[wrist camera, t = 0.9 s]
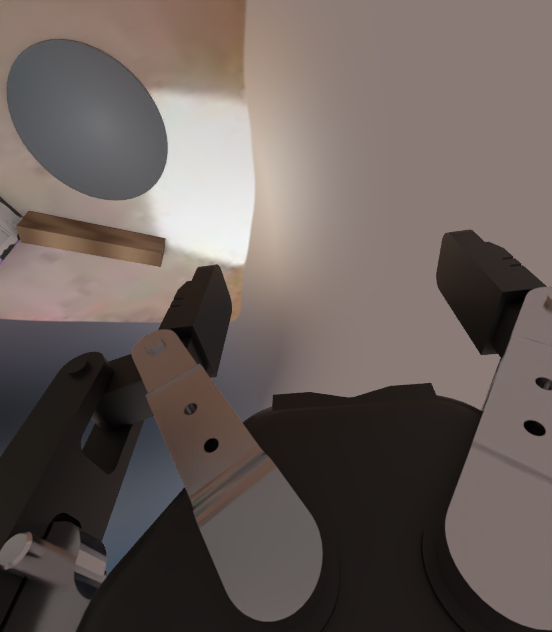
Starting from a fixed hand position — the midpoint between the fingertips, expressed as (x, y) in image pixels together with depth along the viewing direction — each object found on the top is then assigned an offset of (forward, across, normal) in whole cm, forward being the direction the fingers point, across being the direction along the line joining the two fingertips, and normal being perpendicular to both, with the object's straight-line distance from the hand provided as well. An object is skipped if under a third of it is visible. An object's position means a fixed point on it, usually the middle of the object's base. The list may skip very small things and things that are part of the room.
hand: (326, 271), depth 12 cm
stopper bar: (+23, +24, +5) cm, 34 cm away
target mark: (+22, +19, -4) cm, 30 cm away
